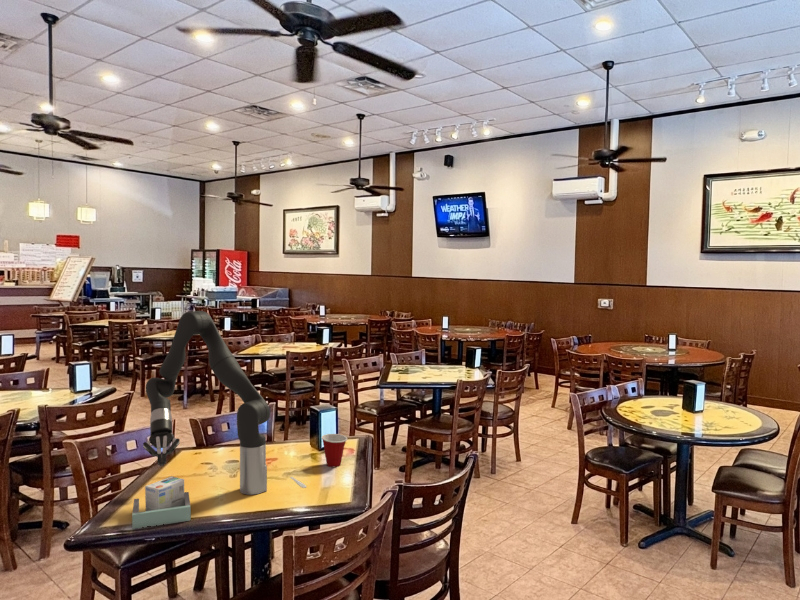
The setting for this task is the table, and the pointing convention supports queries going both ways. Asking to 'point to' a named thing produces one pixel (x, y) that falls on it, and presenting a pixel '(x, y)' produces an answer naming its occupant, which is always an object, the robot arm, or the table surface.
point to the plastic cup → (333, 448)
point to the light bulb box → (165, 494)
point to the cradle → (161, 514)
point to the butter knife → (299, 483)
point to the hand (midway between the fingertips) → (162, 464)
